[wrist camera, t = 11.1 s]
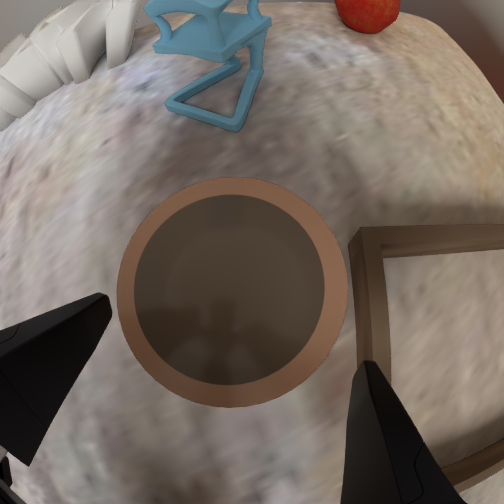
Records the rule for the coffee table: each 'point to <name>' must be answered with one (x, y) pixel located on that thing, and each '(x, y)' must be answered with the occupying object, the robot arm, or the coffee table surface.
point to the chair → (212, 50)
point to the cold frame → (376, 307)
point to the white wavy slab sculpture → (63, 52)
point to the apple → (368, 14)
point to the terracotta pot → (232, 292)
